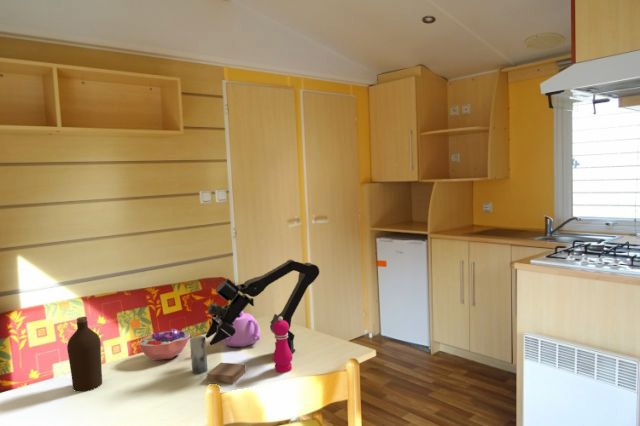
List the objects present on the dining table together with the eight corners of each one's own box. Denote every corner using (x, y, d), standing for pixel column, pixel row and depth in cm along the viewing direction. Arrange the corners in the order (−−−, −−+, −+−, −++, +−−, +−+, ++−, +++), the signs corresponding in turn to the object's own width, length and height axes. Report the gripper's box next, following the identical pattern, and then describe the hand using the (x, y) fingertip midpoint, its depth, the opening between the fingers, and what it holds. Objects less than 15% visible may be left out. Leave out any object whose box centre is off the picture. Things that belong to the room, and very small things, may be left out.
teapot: (201, 347, 197) (199, 316, 196) (237, 332, 215) (235, 303, 214) (238, 356, 184) (235, 323, 183) (273, 339, 202) (271, 309, 201)
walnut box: (245, 372, 169) (245, 364, 169) (232, 384, 159) (232, 375, 159) (221, 370, 172) (221, 362, 172) (207, 381, 162) (207, 373, 162)
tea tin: (210, 368, 174) (208, 336, 173) (202, 374, 169) (200, 341, 168) (197, 367, 176) (195, 335, 175) (189, 373, 170) (186, 340, 170)
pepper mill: (296, 366, 172) (293, 314, 170) (287, 374, 165) (284, 320, 164) (279, 364, 175) (276, 313, 173) (270, 371, 168) (266, 318, 167)
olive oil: (80, 395, 157) (74, 324, 155) (65, 388, 163) (58, 320, 161) (110, 383, 165) (104, 315, 164) (94, 377, 171) (88, 312, 170)
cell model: (140, 355, 192) (137, 328, 192) (189, 346, 200) (187, 320, 199) (140, 369, 177) (138, 341, 176) (193, 359, 184) (191, 332, 183)
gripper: (215, 290, 182) (188, 322, 179) (224, 300, 165) (195, 336, 162) (236, 307, 186) (210, 338, 183) (247, 318, 169) (219, 353, 165)
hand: (208, 340), depth 173 cm, fingers open, 9 cm apart
